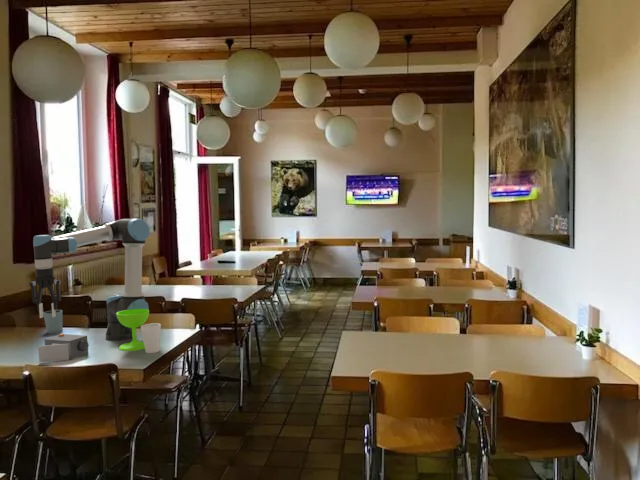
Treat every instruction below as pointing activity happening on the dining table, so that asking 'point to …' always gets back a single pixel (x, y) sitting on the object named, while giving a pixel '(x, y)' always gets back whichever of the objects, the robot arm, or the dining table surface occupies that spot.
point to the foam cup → (151, 337)
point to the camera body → (71, 343)
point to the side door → (54, 352)
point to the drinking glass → (53, 321)
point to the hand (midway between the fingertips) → (47, 316)
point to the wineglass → (133, 326)
